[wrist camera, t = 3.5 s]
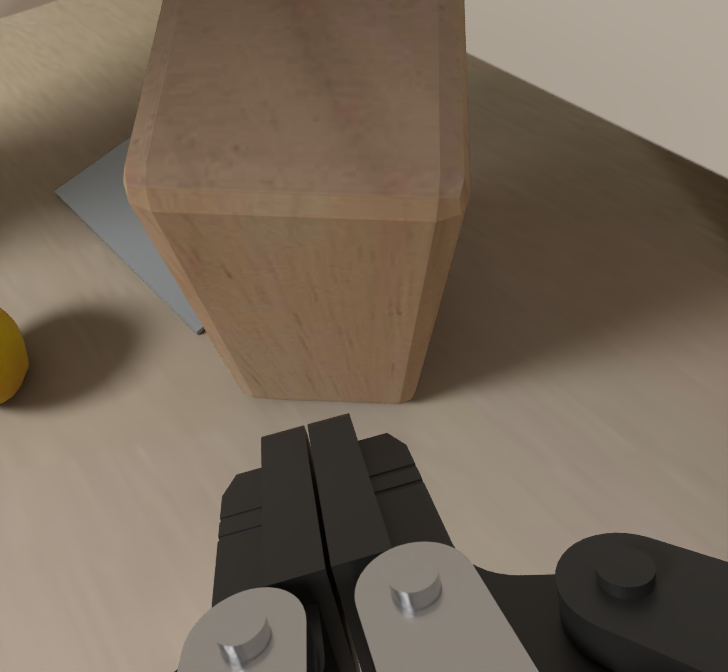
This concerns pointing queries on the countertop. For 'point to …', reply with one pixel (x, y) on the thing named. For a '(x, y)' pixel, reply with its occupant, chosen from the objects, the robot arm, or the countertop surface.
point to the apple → (11, 357)
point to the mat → (123, 227)
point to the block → (307, 184)
